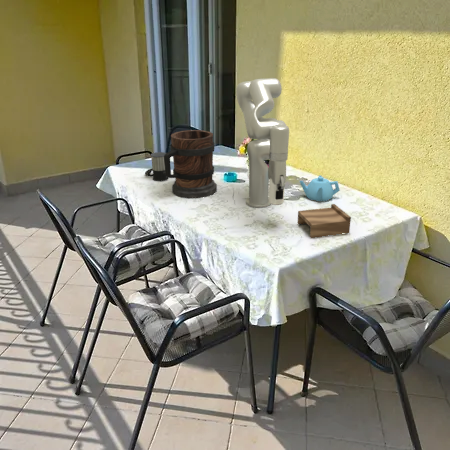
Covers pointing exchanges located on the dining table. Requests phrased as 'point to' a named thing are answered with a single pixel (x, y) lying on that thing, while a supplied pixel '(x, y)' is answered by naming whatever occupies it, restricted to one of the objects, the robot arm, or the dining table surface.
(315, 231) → the shelf
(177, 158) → the wooden tankard
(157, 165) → the milk frother
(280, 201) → the can
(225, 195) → the dining table surface
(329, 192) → the teapot
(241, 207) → the dining table surface
